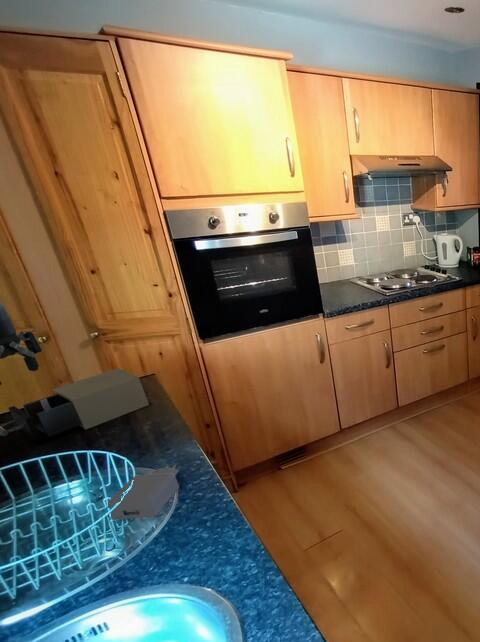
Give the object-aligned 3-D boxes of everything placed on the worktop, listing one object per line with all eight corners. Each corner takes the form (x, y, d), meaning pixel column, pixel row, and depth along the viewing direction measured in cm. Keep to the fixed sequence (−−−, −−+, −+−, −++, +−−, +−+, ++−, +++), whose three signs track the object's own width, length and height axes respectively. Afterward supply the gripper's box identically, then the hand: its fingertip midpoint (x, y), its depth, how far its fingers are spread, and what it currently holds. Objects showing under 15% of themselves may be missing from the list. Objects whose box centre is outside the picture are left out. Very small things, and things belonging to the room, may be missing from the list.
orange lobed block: (63, 421, 127) (67, 423, 126) (44, 427, 124) (48, 430, 123) (52, 396, 124) (55, 398, 123) (32, 402, 121) (36, 405, 120)
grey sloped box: (85, 430, 127) (72, 400, 123) (66, 418, 133) (52, 389, 129) (149, 405, 140) (138, 377, 136) (128, 395, 145) (118, 368, 141)
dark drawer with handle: (13, 454, 115) (-1, 427, 112) (-4, 441, 120) (-17, 415, 117) (104, 418, 131) (94, 394, 127) (86, 408, 136) (76, 385, 133)
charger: (194, 472, 110) (157, 517, 97) (154, 475, 109) (110, 520, 96) (189, 456, 108) (150, 500, 95) (148, 459, 107) (102, 503, 94)
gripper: (7, 309, 117) (33, 365, 124) (-64, 328, 105) (-30, 389, 111) (32, 310, 117) (57, 366, 123) (-36, 329, 104) (-4, 391, 110)
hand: (15, 377), depth 117 cm, fingers open, 8 cm apart
